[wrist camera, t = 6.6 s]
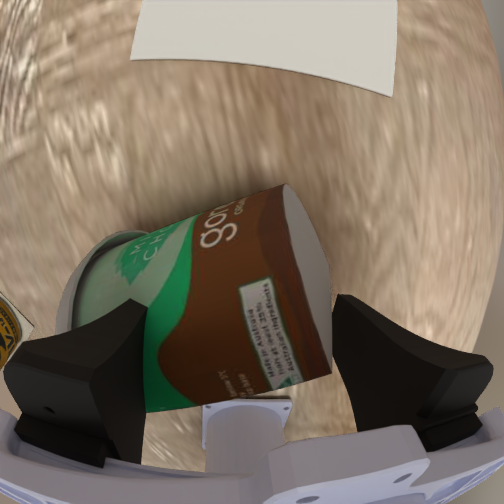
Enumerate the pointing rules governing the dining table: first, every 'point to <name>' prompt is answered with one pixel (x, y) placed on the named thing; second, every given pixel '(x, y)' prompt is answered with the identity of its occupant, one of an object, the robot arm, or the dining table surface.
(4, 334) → the condiment
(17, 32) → the dining table surface
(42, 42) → the dining table surface
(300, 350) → the food container
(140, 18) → the mat
